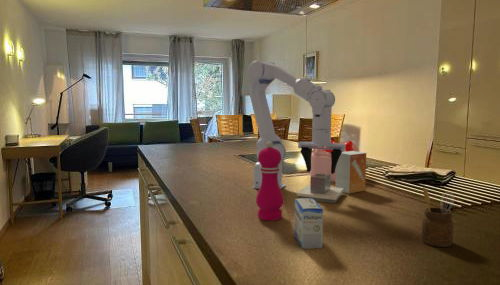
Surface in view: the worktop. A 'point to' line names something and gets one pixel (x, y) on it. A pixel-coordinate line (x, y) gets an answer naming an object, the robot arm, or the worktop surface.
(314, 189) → the housing
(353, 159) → the small box
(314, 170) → the cake
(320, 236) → the medicine box
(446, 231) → the utensil holder
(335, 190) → the plate
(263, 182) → the pepper mill
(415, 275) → the worktop surface
